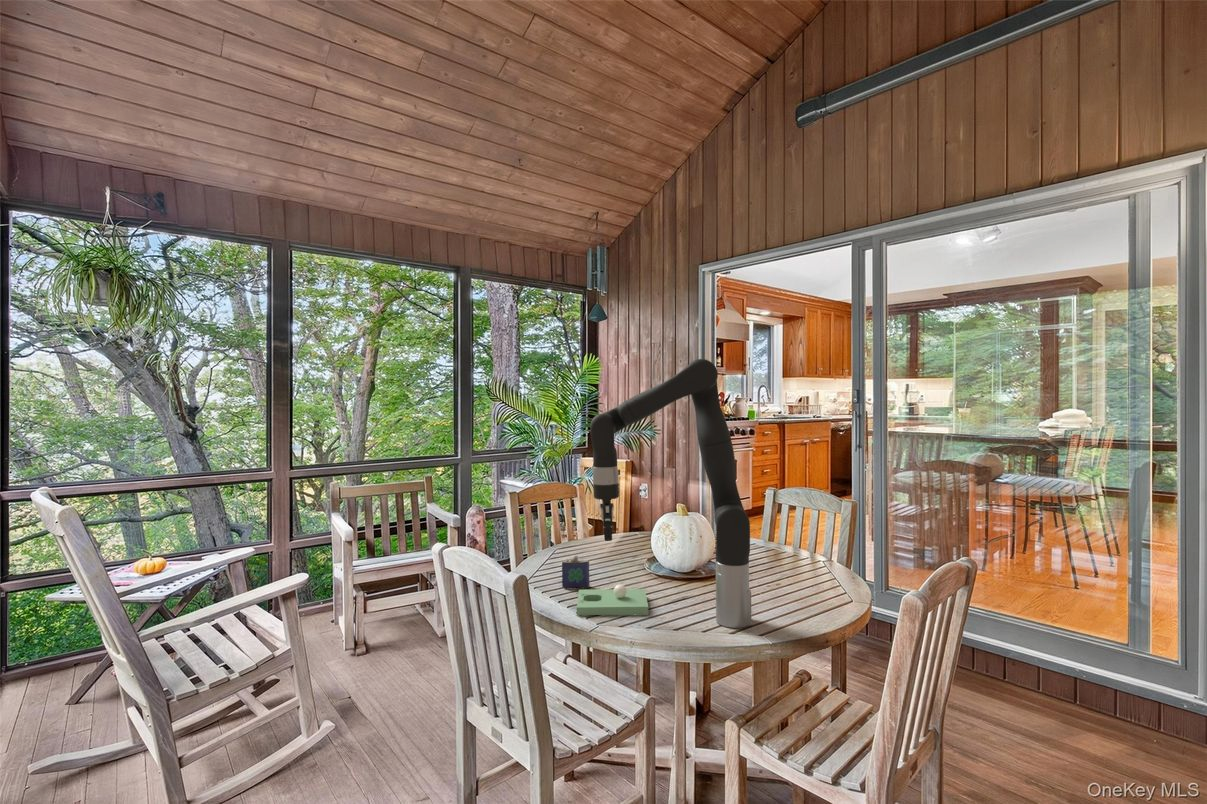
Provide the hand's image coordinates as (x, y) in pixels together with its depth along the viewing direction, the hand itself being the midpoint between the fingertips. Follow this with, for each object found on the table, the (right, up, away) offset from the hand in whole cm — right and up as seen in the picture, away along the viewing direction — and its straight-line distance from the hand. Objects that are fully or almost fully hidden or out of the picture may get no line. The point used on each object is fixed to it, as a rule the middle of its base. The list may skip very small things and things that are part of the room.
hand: (607, 536), depth 165 cm
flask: (-11, -23, +25) cm, 36 cm away
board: (+1, -23, +8) cm, 24 cm away
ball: (+4, -19, +8) cm, 20 cm away
